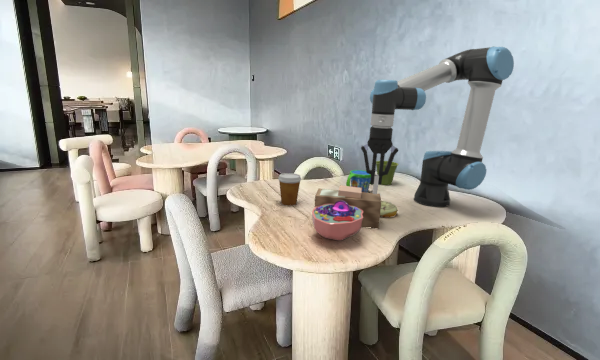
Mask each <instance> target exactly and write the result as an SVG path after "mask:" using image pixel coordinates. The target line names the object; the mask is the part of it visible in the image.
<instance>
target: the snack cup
mask: <svg viewBox="0 0 600 360" xmlns="http://www.w3.org/2000/svg"><path fill="white" fill-rule="evenodd" d="M370 181H371V175H370V174H368V173H367V172H366V170H364V169H353V170H349V174H348V177H347V179H346V183H345V186H350V187H358V188H361V192H366V193H369V192H368V191H369V188H370V186H373V184H371V182H370Z"/></svg>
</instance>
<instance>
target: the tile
mask: <svg viewBox="0 0 600 360" xmlns="http://www.w3.org/2000/svg"><path fill="white" fill-rule="evenodd" d="M338 190H339V191H338V196H345V197H353V198H360V199H361V188H358V187H351V185H350V186H346V185H339V187H338Z"/></svg>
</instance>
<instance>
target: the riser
mask: <svg viewBox="0 0 600 360" xmlns="http://www.w3.org/2000/svg"><path fill="white" fill-rule="evenodd" d="M338 191H339V189H330V188H317V191H316V193H315V196H314V208H315V207H316V206H320V205H323V204H335V202H337V201H345V202H347V203H348V204H349V205H350V206H355V207H358V208H360V209H362V210H363V220H362V227H361V228H366V227H371V228H370V229H375V228H379V227H380V218H381V217H380V210H381V201H382V198H381V193H378V192H377V194H373V192H367V193H366V192H361V199H360V198H353V197H345V196H338ZM379 229H380V228H379Z"/></svg>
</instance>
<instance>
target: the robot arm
mask: <svg viewBox="0 0 600 360" xmlns="http://www.w3.org/2000/svg"><path fill="white" fill-rule="evenodd" d="M514 64H515V61H514V57H513V55H512V52H511V50H509V49H508V48H507V47H505V46H491V47H490V46H489V47H481V48H480V47H479V48H470V49H466V50H462V51H460V52H458V53H455V54H453V55H451V56H449V57H446V58H444V59H442V60H440V61H439V63H438V64H436V65H433V66H431V67H428V68H427V69H424V70H422V71H418V72H417V73H414V74H412V75H409V76H407V77H404V78H402V79H400V80H395V79H377V80H375V82H374V86H373V88H372V90H371V91H370V94H369V100H370V103H371V104H372V105H371V106H372V107H371V116H370V125H371V127H369V136H368V137H369V138H368V141H367V142H366V144H362V145H361V146H360V149H361V151H362V152H363V153H362V154H363V159H364V165H365V171H366V172H367V173H368V174H370V175H371V181H370V182H371V184H373V185H372V186H373V187H372V193H373V194H377V193H378V190H379V189H378V188H379V186H382V185H381V183H382V176H383V175H387V174H388V172H389V169H390V167H391V164H392V162H394V158H395V156H396V155H397V154H398V153H399V148H397V147H395V146H394V144H393V140H392V138H393V132H394V129H393V127H394V121H395V120H394V119H395V113H396V110H405V111H406V110H407V111H414V110H415V111H417V110H420V109H422V108H423V107H424V106H425V105H426V101H427V94H426V92H425V91H427V90H430V89H432V88H435V87H437V86H439V85H442V84H444V83H447V84H451V83H453V82H456V81H463V80H464V81H465V80H466V81H467V84H468V86H469V87H470V91H469V93H468V99H467V103H466V105H465V107H466V108H465V110H464V115H463V120H462V122H461V127H460V128H461V129H460V132H459V136H458V141H457V145H456V148H455V149H454V150H452V151H450V150H429V151H426V152H424V154H423V158H422V163H421V165H422V166H421V174H420V182H419V185H418V188H417V189H416V191H415V192H414V197H413V200H414V201H415V202H416V203H418V204H421V205H424V206H430V207H435V208H436V207H437V208H442V207H443V208H444V207H448V206H450V205H451V204H450V203H451V196H450V191H449V185H451V186H454V187H457V188H458V189H463V190H468V191H470V190H474V189H476V188H478V187H479V186H480V185H481V184H482V182H483V181H484V180H485V177H487V176H486V175H487V167H486V166H487V165H486V164H485V163H484V162H483V158H484V157H483V156H482V154H481V149H482V146H483V145H482V144H483V141H484V137H485V133H486V129H487V126H488V122H489V118H490V117H489V116H490V114H491V110H492V104H493V101H494V97H495V93H496V90H498V89H499V88H501V87H502V84H503V82H504V81H505V80H507V79H509V78H510V76H511V75H512V74H513V71H514ZM369 149H370V151H371V153H372V159H371V160H372V161H371V169H370V162H369V156H368V150H369ZM389 150H390V154H389V156H388V160H387V161H388V162H387V165H386V167H385V170H384V171H383V165H384V161H385V154H387V153H388V151H389ZM378 155H379V161H380V165H379V175H377V174H376V170H377V167H376V161H377V158H378ZM371 184H370V185H371Z"/></svg>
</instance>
